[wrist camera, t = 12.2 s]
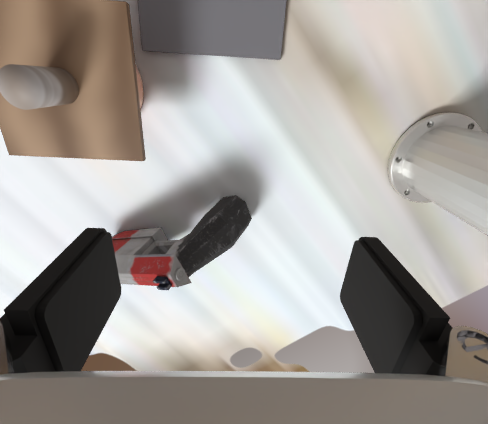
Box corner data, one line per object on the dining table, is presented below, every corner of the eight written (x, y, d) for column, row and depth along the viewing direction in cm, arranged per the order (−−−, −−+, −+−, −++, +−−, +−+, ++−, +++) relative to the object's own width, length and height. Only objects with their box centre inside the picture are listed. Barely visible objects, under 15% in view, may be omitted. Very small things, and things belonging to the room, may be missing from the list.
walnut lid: (129, 4, 24) (95, -21, 18) (145, 159, 30) (124, 177, 24) (-37, -9, 23) (-127, -38, 17) (14, 153, 29) (-40, 170, 24)
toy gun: (139, 209, 48) (66, 267, 37) (242, 194, 38) (183, 268, 26) (153, 233, 51) (88, 293, 39) (254, 224, 40) (204, 305, 29)
